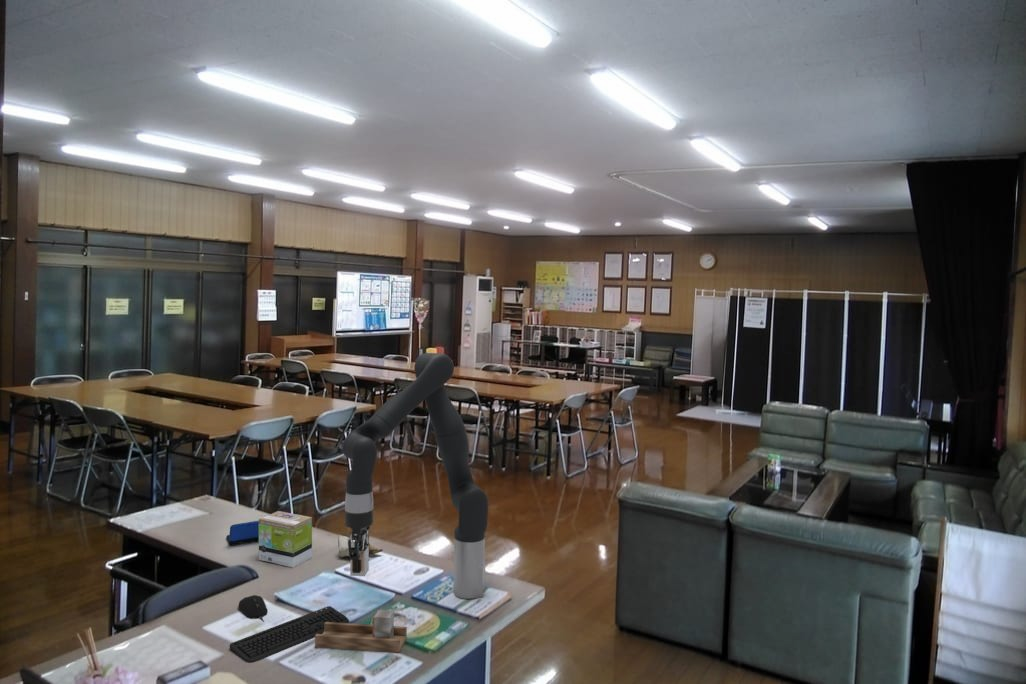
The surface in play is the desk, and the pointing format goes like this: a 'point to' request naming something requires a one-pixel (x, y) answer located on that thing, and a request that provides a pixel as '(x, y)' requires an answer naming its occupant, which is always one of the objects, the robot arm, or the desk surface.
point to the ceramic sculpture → (345, 551)
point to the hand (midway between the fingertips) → (359, 568)
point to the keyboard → (285, 635)
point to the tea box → (285, 538)
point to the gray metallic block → (362, 563)
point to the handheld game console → (243, 533)
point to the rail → (364, 635)
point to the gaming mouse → (253, 607)
